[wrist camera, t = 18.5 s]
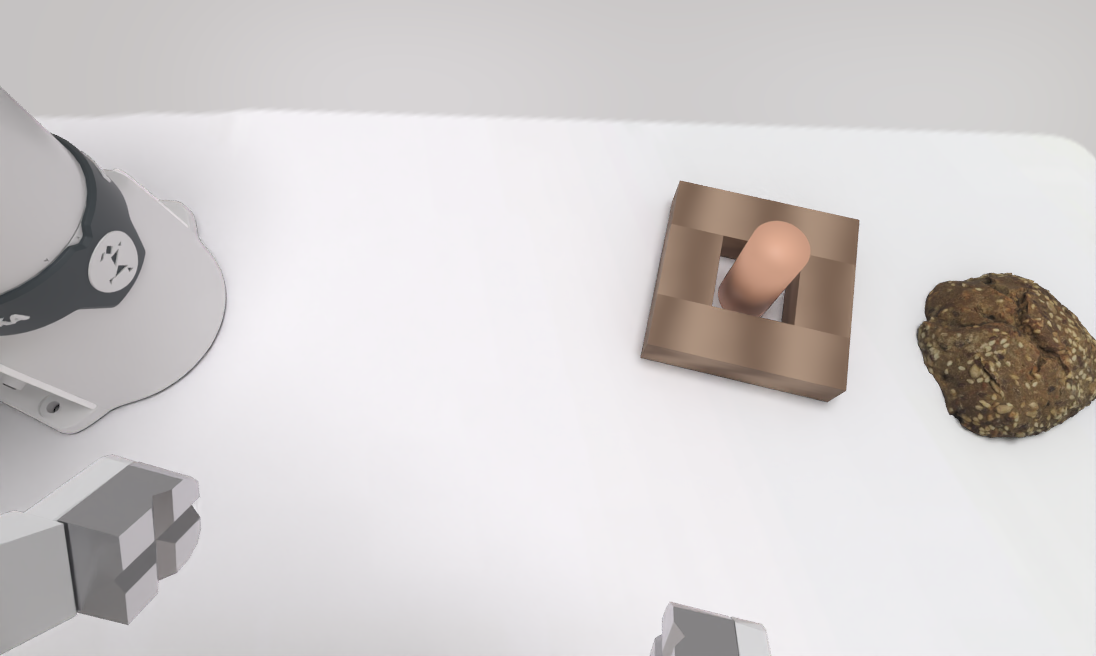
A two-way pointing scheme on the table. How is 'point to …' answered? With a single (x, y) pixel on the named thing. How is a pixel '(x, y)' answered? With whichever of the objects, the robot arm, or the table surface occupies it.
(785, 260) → the pin
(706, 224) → the pin board
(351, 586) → the table surface
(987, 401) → the bread roll
